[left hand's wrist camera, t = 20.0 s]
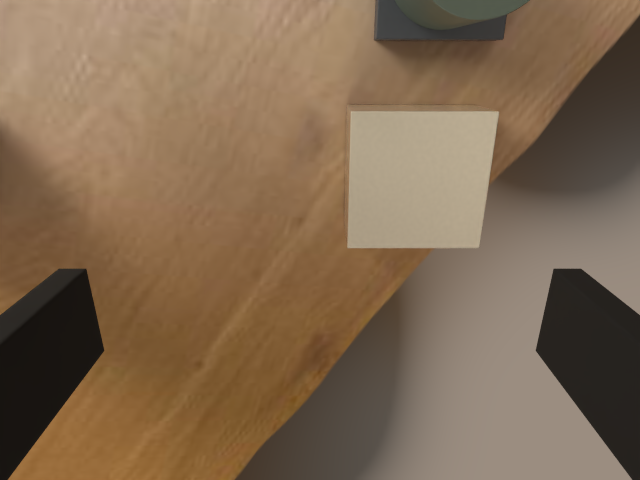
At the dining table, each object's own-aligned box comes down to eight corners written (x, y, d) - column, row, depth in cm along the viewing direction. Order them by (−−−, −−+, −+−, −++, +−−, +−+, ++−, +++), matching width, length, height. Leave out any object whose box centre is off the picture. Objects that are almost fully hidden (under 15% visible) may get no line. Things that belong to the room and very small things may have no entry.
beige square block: (460, 225, 38) (479, 248, 33) (344, 225, 38) (347, 248, 33) (475, 104, 34) (499, 111, 30) (346, 104, 34) (350, 111, 30)
